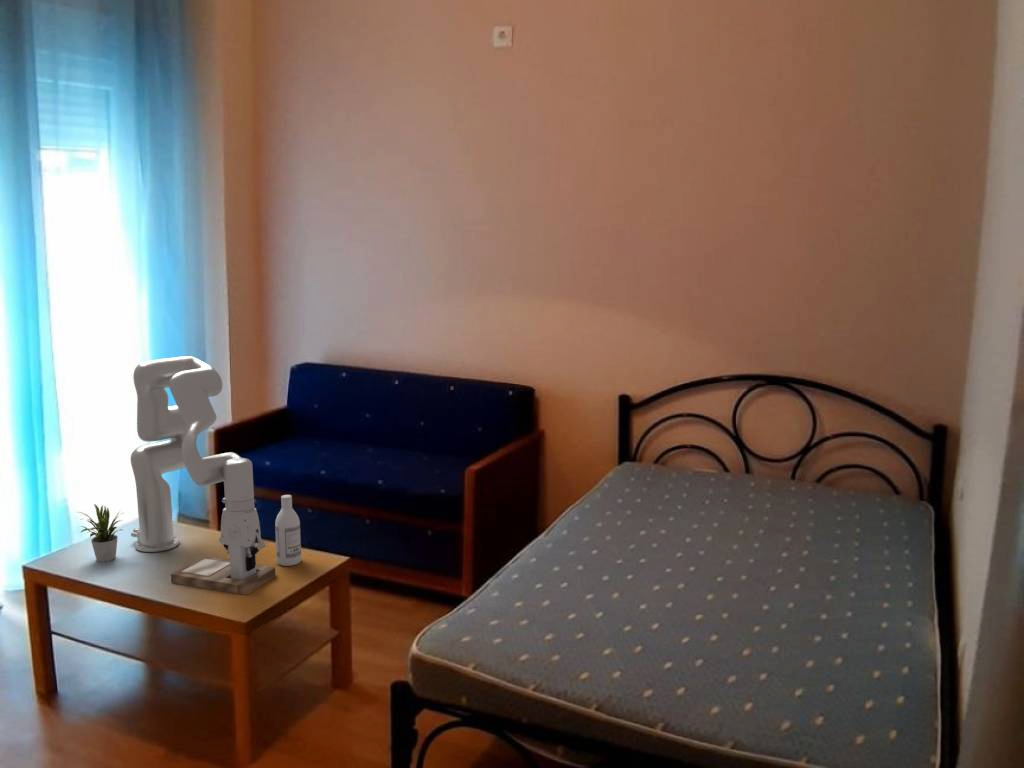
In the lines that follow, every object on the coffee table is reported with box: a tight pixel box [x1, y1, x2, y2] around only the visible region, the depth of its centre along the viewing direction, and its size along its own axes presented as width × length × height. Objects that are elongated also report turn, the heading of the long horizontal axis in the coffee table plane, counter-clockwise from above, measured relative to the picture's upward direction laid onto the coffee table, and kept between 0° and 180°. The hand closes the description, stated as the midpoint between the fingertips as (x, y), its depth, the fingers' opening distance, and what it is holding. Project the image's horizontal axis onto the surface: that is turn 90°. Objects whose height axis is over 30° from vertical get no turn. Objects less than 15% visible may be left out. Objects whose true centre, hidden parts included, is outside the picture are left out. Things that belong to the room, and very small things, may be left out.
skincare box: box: [228, 544, 257, 581], centre depth 253 cm, size 6×4×12 cm
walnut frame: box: [170, 555, 277, 596], centre depth 256 cm, size 24×14×3 cm, turn 71°
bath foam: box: [274, 494, 302, 567], centre depth 267 cm, size 7×7×20 cm
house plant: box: [77, 503, 124, 563], centre depth 270 cm, size 14×14×16 cm
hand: (243, 567), depth 254 cm, fingers closed on skincare box, 4 cm apart
